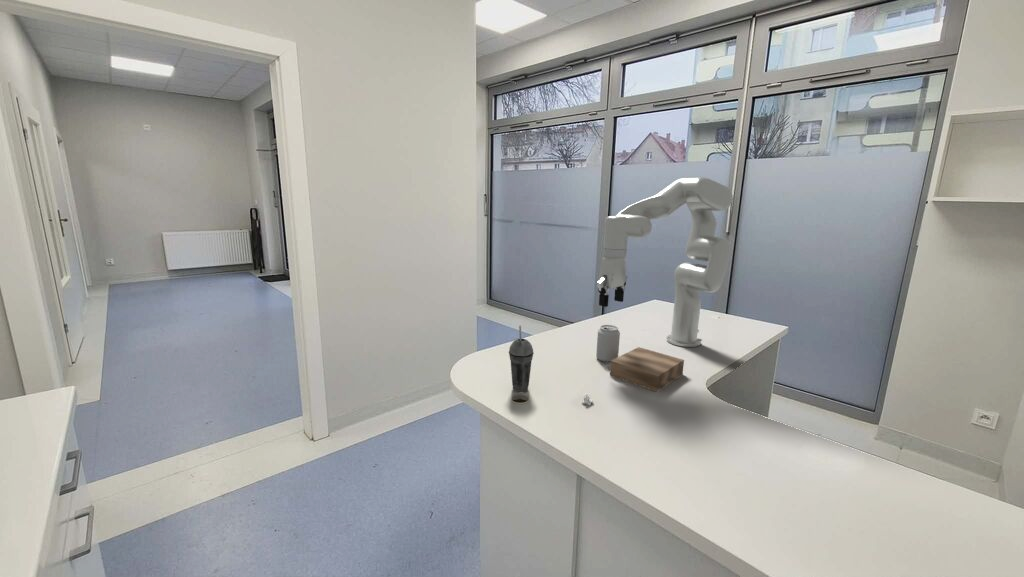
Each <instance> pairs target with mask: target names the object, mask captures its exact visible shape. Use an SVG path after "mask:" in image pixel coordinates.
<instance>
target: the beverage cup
mask: <svg viewBox="0 0 1024 577" xmlns="http://www.w3.org/2000/svg"><path fill="white" fill-rule="evenodd" d="M518 328H519V329H518V331H519V338H517V339H515V340H513V341H512V342H511V343H510V345H509V349H508V350H509V351H508V354H509V355H508V356H509V359H510V368H511V369H510V371H511V384H512V385H511V386H512V390H513V392H516V393H519V392H521V393H522V392H523V393H526V392H527V391H528V390H529V386H530V378H531V369H532V360H533V358H534V348H533V345H532V344H531V342H530V341H529V340H528V339H526V338H522V325H518Z"/></svg>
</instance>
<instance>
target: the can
mask: <svg viewBox="0 0 1024 577" xmlns="http://www.w3.org/2000/svg"><path fill="white" fill-rule="evenodd" d="M620 335H621V332H620V330H619V327H618V326H616V325H612V324H602V325H600V326H599V329H598V330H597V339H596V340H597V342H596V359H598V360H599V361H600V362H602V363H608V364H609V363H610V364H611V360H613V359H615V358H617V357H619V350H620V339H621V337H620Z"/></svg>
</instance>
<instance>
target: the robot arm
mask: <svg viewBox="0 0 1024 577" xmlns="http://www.w3.org/2000/svg"><path fill="white" fill-rule="evenodd" d="M733 198H734V196H733V192H732V190H731V189H730V188H729V187H728V186H727V185H724V184H722V183H720V182H717V181H715V180H712V179H710V178H708V177H703V176H700V177H699V176H696V177H694V176H693V177H681V178H678V179H676V180H675V181H673V182H671V183H670V184H669V185H668V186H666V187H665V188H663V189H662V190H661V191H658V192H657V193H656V194H654V195H653V196H650V197H648V198H645V199H642V200H640V201H637V202H635V203H633V204H631V205H628V206H627V207H625V208H624V209H622V210H621V211H619V212H618V213H617V214H616V215H609V216H606V218H605V220H604V221H605V222H604V234H603V251H602V252H603V253H602V259H601V261H600V262H601V263H600V267H599V276H598V281H597V283H596V286H597V291H598V295H599V296H598V298H599V299H598V300H599V301H598V305H599V306H600V307H604V308H605V307H606V308H607V307H609V298H610V295H609V292H610V290H612V289H614V299H613V300H614V301H615V302H619V303H623V302H624V294H625V290H626V285H627V280H628V276H627V275H626V270H627V269H626V268H627V262H626V259H627V253H628V252H627V250H628V240H629V238H630V239H631V238H632V239H643V238H646V237H648V235H649V234H651V231H652V229H653V224H652V222H651V220H659V219H662V218H666V217H669V216H671V215H672V214H673V213H674V212H676V211H677V210H678V209H680V208H681V207H682V206H684V205H686V206H687V208H688V211H689V212H690V214H691V218H692V219H691V220H692V222H691V228H690V232H689V235H688V238H687V242H686V246H685V255H686V257H687V258H688V259H691V260H695V261H698V262H699V261H700V262H706V263H707V265H706V264H700V263H694V262H682V263H681V264H679V265H678V266H677V267H676V268H675V270H674V276H673V277H674V288H675V289H674V290H675V292H674V303H673V314H672V324H671V331H670V332H671V333H670V334H668V335H667V336H666V341H667V342H668V343H670V344H672V345H674V346H678V347H685V348H697V347H699V346H700V345H701V344H702V343H701V342H702V341H701V340H700V339H699V338H698V333H700V330H699V322H700V314H701V306H702V296H701V293H700V291H701V292H706V293H715V292H717V291H718V290H719V289H720V288H721V286H722V284H723V282H724V278H725V276H726V272H727V268H728V265H729V261H730V258H731V254H732V253H731V251H732V250H731V244H730V242H729V240H728V239H726V238H725V237H721V236H715V233H716V229H717V224H718V223H717V218H716V216H715V214H714V211H715V212H717V211H718V212H720V211H725V210H727V209H728V208H730V206H731V205H732V204H733Z"/></svg>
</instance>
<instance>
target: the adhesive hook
mask: <svg viewBox="0 0 1024 577" xmlns="http://www.w3.org/2000/svg"><path fill="white" fill-rule="evenodd" d="M590 396H591V394H590V392H589V393H588V392H587V393H585V395H584V397H583V401H582V402H581V404H583V405H585V404H586V405H588V406H591V404H593V405H595V404H594V401H593V400H592V399H591V397H590Z"/></svg>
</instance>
